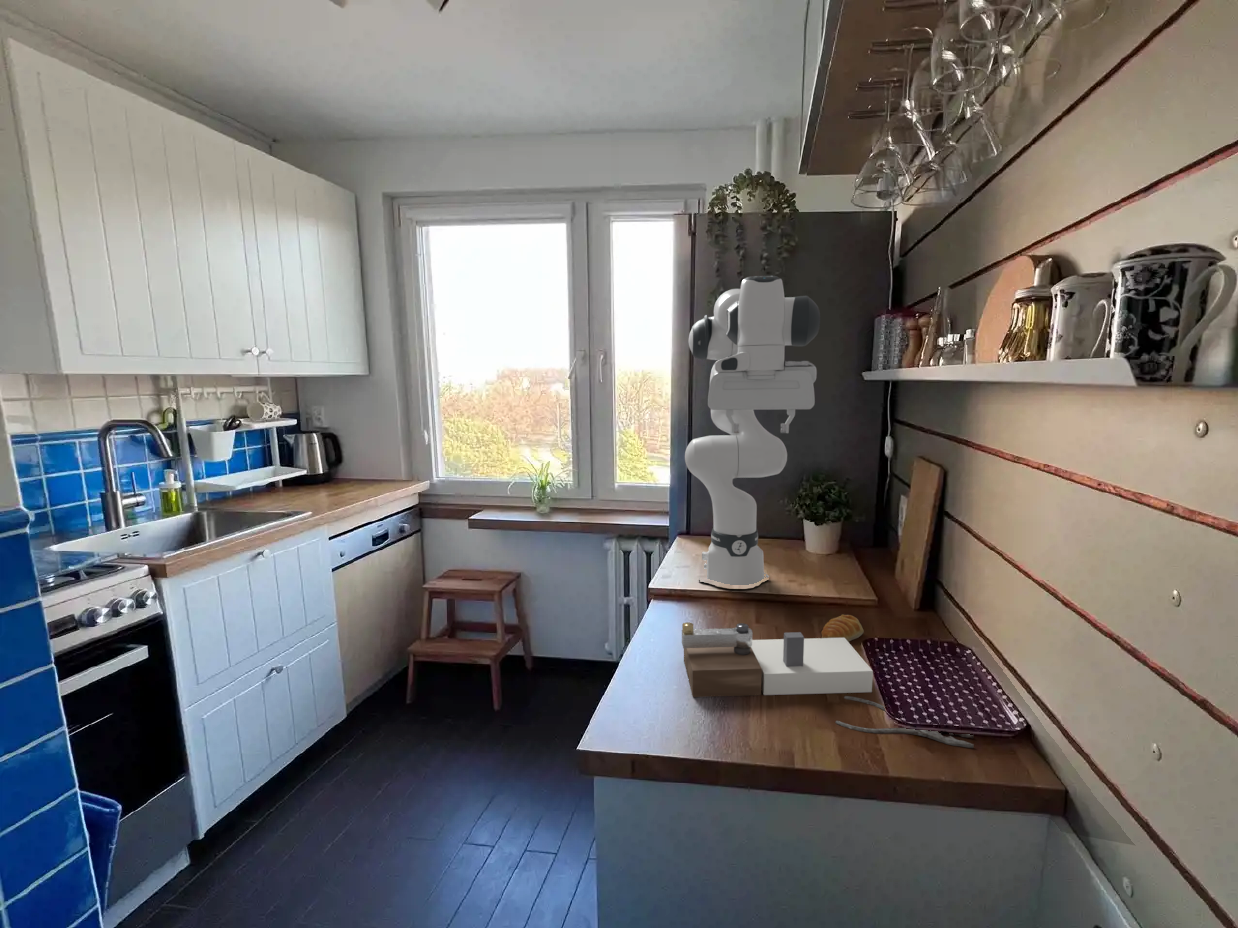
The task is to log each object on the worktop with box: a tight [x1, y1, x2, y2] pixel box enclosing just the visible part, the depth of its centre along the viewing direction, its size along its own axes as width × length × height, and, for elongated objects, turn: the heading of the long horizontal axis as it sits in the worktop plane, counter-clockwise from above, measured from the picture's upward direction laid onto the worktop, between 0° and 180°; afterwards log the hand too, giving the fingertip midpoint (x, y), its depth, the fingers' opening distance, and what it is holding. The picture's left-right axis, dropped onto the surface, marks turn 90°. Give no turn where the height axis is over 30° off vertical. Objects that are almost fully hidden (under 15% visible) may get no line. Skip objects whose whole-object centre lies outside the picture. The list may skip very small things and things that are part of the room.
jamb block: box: [683, 647, 762, 698], centre depth 112 cm, size 13×12×6 cm
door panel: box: [751, 631, 874, 696], centre depth 112 cm, size 13×19×10 cm
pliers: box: [835, 695, 975, 749], centre depth 98 cm, size 10×1×20 cm
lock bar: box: [681, 622, 753, 649], centre depth 111 cm, size 13×4×4 cm, turn 91°
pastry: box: [820, 614, 864, 643], centre depth 128 cm, size 9×7×4 cm
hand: (759, 433), depth 119 cm, fingers open, 8 cm apart
